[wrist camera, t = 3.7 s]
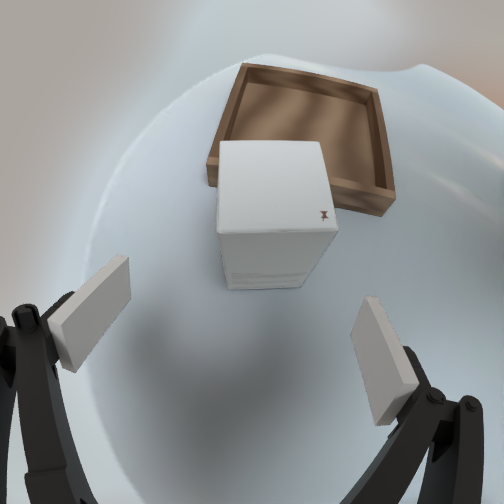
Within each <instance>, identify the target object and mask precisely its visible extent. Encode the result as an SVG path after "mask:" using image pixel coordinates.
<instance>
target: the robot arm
mask: <svg viewBox="0 0 504 504" xmlns="http://www.w3.org/2000/svg"><path fill="white" fill-rule="evenodd" d="M130 300H131V291H130V274H129V257H126V256H121V255H116V256H115V257H114V258H113V259H112V260H111V261H109V262H108V263H107V264H106V265H105V266H104V267H103V268H101V269H100V270H99V271H98V272H97V273H96V274H95V275H94V276H93V277H91V278H90V279H89V280H88V281H87V282H86V283H85V284H84V285H83V286H82V287H81V288H79V289H78V290H77V291H76V292H73V291H71V292H69V293H67V294H65V295H63V296H62V297H61V298H60V299H59V300H58V301H57V302H56V303H54V304H53V306H51V307H50V308H49V309H48V310H47V311H46V312H45V313H44V314H43V315H42V316H41V317H40V316H39V312H38V309H37V307H36V306H35V305H32V304H23V305H20V306H18V307H16V308H15V309H14V310H13V312H12V318H13V321H14V324H15V327H12V326H7V324H6V321H5V318H3V317H2V316H0V504H6V496H7V460H8V447H9V437H10V429H11V428H10V427H11V421H12V414H13V408H14V402H15V397H16V392H17V394H18V408H19V417H20V425H21V432H22V439H23V445H24V451H25V456H26V461H27V465H28V473H26V474H25V477H24V478H25V485H26V488H27V492H28V496H29V499H30V503H31V504H98V503H97V501H96V499H95V498H94V496H93V494H92V492H91V489H90V487H89V484H88V482H87V479H86V476H85V474H84V471H83V468H82V465H81V463H80V460H79V457H78V454H77V451H76V447H75V444H74V441H73V438H72V434H71V431H70V427H69V423H68V419H67V416H66V412H65V407H64V403H63V398H62V394H61V389H60V384H59V378H58V373H57V368H56V365H55V363H56V362H57V361H58V360H60V362H61V365H62V368H64V369H66V370H69V371H71V372H73V373H76V372H77V370H78V369H79V368H80V366H81V365H82V363H83V362H84V361H85V359H86V358H87V356H88V355H89V354H90V352H91V351H92V350H93V348H94V347H95V346H96V344H97V343H98V341H99V340H100V339H101V337H102V336H103V335H104V333H105V332H106V331H107V329H108V328H109V327H110V325H111V324H112V323H113V322H114V320H115V319H116V318H117V316H118V315H119V314H120V312H121V311H122V310H123V309H124V307H125V306H126V305H127V303H128V302H129V301H130ZM350 336H351V339H352V342H353V346H354V349H355V352H356V356H357V359H358V363H359V366H360V370H361V374H362V377H363V381H364V385H365V388H366V392H367V396H368V400H369V404H370V408H371V412H372V416H373V420H374V424H375V426H381V425H390V424H391V423H392V422H393V420H394V419H395V418H397V421H398V425H397V426H396V427H395V428H394V430H393V431H392V432H391V433H390V435H389V436H388V440H387V441H386V443H385V444H384V446H383V447H382V449H381V450H380V452H379V453H378V455H377V456H376V457H375V459H374V460H373V462H372V463H371V464H370V466H369V467H368V469H367V470H366V471H365V473H364V474H363V475H362V477H361V478H360V479H359V480H358V482H357V483H356V484H355V486H354V487H353V488H352V489H351V491H350V492H349V493H348V494H347V495H346V497H345V498H344V499H343V500H342V501H341V502H340V504H398V503H399V501H400V500H401V498H402V496H403V495H404V493H405V491H406V490H407V488H408V486H409V484H410V483H411V481H412V479H413V477H414V475H415V473H416V472H417V470H418V468H419V466H420V464H421V462H422V460H423V458H424V456H425V454H426V451H427V449H428V447H429V451H428V457H427V463H426V468H425V473H424V477H423V482H422V486H421V490H420V494H419V498H418V502H417V504H481V496H482V485H483V468H484V425H483V408H482V405H481V403H480V402H479V400H478V399H476V398H475V397H473V396H469V395H466V396H463V397H462V398H461V400H460V401H459V402H453V401H449V400H446V397H445V395H444V394H443V393H442V392H441V391H440V390H438V389H436V388H434V387H431V385H430V383H429V381H428V379H427V377H426V375H425V372H424V370H423V368H421V367H422V366H421V364H420V362H419V360H418V358H417V356H416V354H415V353H414V352H413V351H412V350H411V349H410V348H409V347H408V346H402V344H401V342H400V340H399V338H398V336H397V334H396V332H395V330H394V328H393V326H392V324H391V322H390V320H389V318H388V316H387V314H386V312H385V311H384V309H383V307H382V305H381V303H380V301H379V299H378V297H373V296H365V297H364V300H363V303H362V306H361V309H360V311H359V314H358V317H357V319H356V322H355V325H354V327H353V330H352V332H351V335H350Z"/></svg>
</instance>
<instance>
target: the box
mask: <svg viewBox="0 0 504 504" xmlns="http://www.w3.org/2000/svg"><path fill="white" fill-rule="evenodd" d="M240 140H281V141H316V142H319V143H320V147H321V150H322V155H323V159H324V163H325V167H326V172H327V176H328V181H329V185H330V191H331V195H332V200H333V204H334V207H337V208H342V209H347V210H352V211H357V212H361V213H366V214H371V215H375V216H380V217H382V215H383V214H384V213H385V212H386V211H387V209H388V208H389V207H390V206H391V204H392V203H393V202H394V201H395V200H396V196H395V187H394V178H393V171H392V163H391V157H390V150H389V144H388V138H387V133H386V127H385V122H384V117H383V112H382V108H381V103H380V99H379V94H378V90H377V89H375V88H372V87H368V86H365V85H361V84H357V83H354V82H350V81H346V80H342V79H338V78H334V77H329V76H325V75H320V74H315V73H310V72H305V71H299V70H293V69H287V68H281V67H274V66H267V65H259V64H249V63H242V65H241V67H240V70H239V72H238V75H237V77H236V80H235V83H234V85H233V88H232V91H231V93H230V96H229V99H228V101H227V104H226V107H225V110H224V112H223V115H222V118H221V121H220V124H219V127H218V130H217V132H216V135H215V138H214V141H213V144H212V147H211V150H210V153H209V156H208V159H207V163H206V167H207V174H208V181H209V186H212V187H217V186H218V168H219V149H220V141H240Z"/></svg>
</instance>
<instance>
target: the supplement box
mask: <svg viewBox="0 0 504 504" xmlns="http://www.w3.org/2000/svg"><path fill="white" fill-rule="evenodd" d="M338 231H339V228H338V223H337V218H336V213H335V209H334V204H333V200H332V195H331V191H330V185H329V181H328V176H327V172H326V167H325V163H324V159H323V155H322V150H321V147H320V143H319V142H316V141H281V140H240V141H220V149H219V168H218V186H217V207H216V234H217V237H218V241H219V245H220V251H221V256H222V262H223V268H224V273H225V278H226V282H227V286H228V289H229V290H245V289H271V288H292V287H301V286H302V284H303V283H304V282H305V280H306V279H307V277H308V276H309V274H310V273H311V271H312V270H313V269H314V267H315V266H316V264H317V263H318V261H319V260H320V258H321V257H322V255H323V254H324V252H325V251H326V249H327V248H328V246H329V245H330V243H331V242H332V240H333V239H334V237H335V236H336V234H337V233H338Z"/></svg>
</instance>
